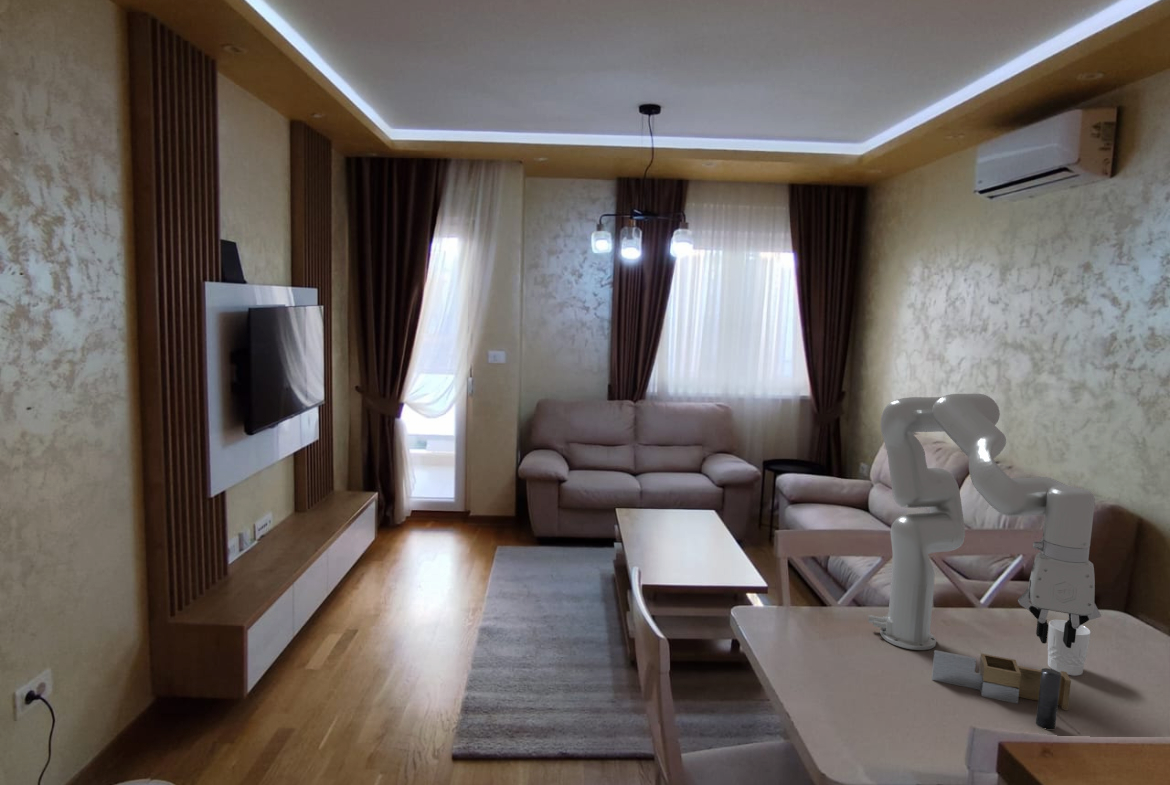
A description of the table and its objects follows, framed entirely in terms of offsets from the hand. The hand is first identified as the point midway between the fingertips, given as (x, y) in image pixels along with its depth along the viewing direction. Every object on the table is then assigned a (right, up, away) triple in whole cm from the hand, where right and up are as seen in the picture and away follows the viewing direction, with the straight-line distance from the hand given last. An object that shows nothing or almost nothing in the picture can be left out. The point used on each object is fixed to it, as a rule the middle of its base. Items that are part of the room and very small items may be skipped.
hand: (1054, 641), depth 137 cm
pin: (-1, -17, +2) cm, 17 cm away
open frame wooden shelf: (+1, -16, +12) cm, 20 cm away
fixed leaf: (-7, -15, +16) cm, 23 cm away
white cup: (+19, -15, +25) cm, 35 cm away
